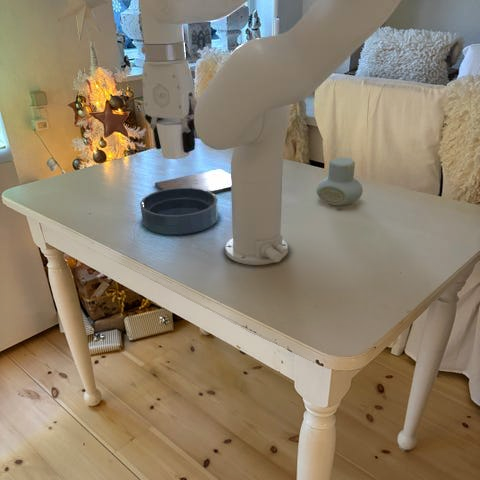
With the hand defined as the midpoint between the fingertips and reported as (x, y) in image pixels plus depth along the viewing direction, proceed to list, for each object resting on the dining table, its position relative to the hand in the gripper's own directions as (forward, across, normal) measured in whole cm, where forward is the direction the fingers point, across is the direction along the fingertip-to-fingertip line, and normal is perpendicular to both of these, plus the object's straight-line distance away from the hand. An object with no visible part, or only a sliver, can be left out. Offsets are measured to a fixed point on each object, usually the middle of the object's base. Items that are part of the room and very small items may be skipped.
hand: (175, 148), depth 104 cm
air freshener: (+17, +28, +26) cm, 42 cm away
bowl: (+16, -1, 0) cm, 16 cm away
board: (+16, -8, +21) cm, 27 cm away
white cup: (+2, 0, 0) cm, 2 cm away
